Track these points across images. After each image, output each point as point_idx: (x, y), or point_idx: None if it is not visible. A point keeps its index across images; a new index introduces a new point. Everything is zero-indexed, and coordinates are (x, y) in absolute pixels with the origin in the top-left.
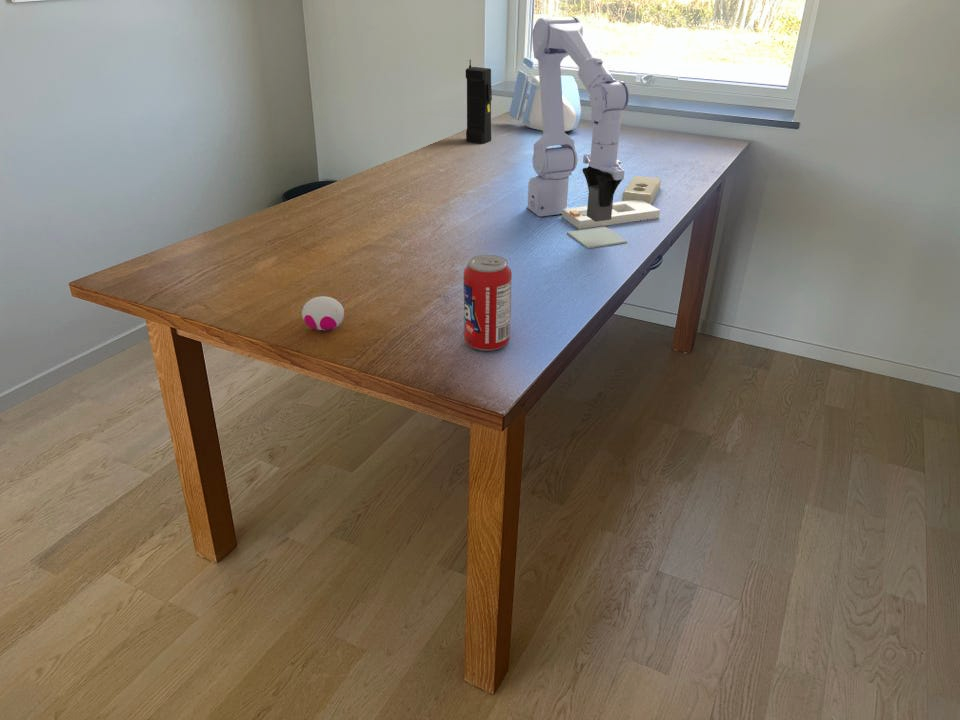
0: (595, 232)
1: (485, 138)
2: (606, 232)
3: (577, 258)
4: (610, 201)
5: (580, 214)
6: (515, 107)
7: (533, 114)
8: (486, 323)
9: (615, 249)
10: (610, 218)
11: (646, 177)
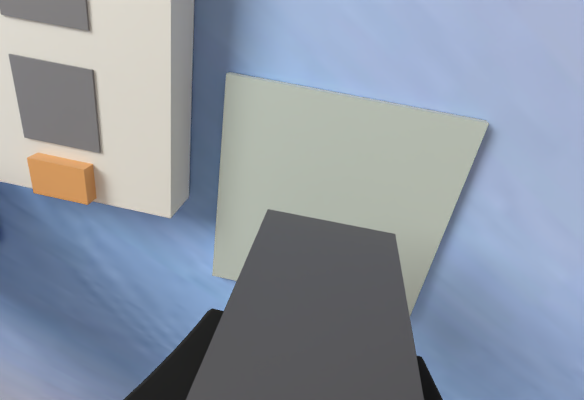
0: (281, 182)
1: None
2: (310, 132)
3: (456, 392)
4: (437, 397)
5: (75, 150)
6: None
7: None
8: None
9: (504, 231)
10: (394, 243)
11: None
